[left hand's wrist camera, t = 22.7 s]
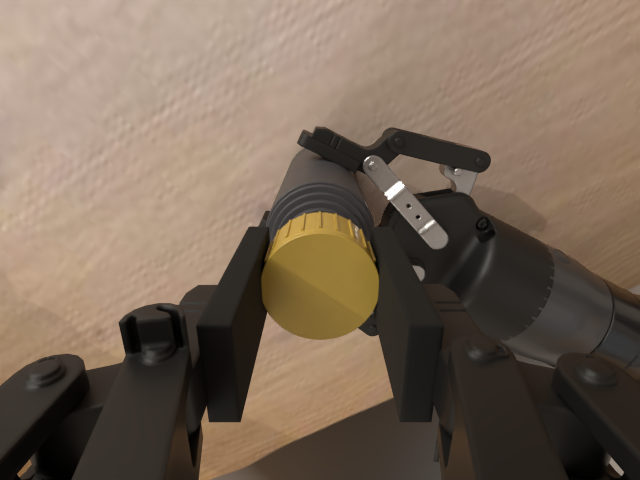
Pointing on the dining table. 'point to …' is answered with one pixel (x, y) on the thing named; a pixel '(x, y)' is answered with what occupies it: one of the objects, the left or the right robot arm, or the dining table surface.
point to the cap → (320, 277)
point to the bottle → (319, 194)
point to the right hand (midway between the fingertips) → (281, 179)
